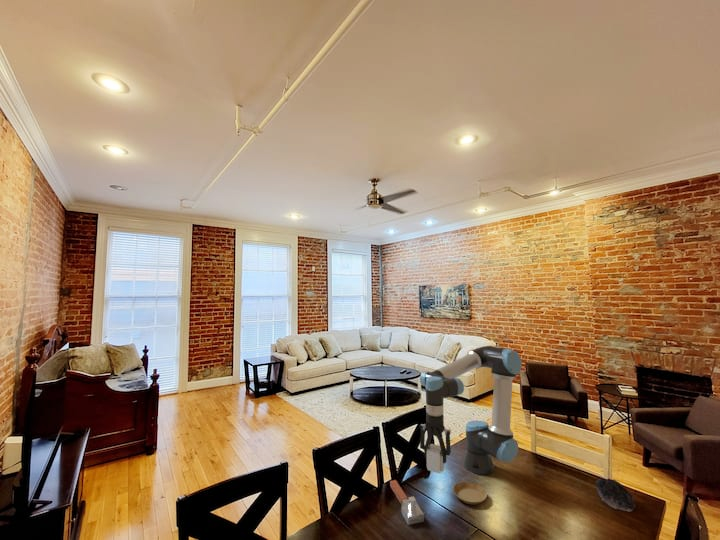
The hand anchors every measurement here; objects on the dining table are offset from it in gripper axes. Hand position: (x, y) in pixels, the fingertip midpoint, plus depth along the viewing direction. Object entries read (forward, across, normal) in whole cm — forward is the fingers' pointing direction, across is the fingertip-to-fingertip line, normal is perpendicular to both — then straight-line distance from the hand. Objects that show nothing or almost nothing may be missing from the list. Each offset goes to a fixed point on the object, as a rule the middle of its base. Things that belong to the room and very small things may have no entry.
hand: (435, 467), depth 138 cm
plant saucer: (+18, +11, +16) cm, 26 cm away
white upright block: (0, 0, 0) cm, 0 cm away
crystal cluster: (+17, +69, +44) cm, 83 cm away
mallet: (+18, -14, -2) cm, 23 cm away
